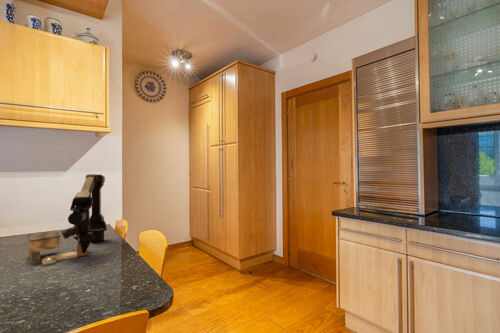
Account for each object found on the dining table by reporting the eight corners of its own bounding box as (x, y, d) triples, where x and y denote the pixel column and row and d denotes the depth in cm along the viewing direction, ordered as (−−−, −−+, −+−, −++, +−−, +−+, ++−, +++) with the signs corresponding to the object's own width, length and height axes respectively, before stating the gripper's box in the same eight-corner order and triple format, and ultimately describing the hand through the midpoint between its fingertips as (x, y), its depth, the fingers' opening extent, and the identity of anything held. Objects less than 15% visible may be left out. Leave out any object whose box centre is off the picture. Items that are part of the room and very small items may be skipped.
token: (57, 260, 117) (57, 255, 117) (54, 264, 113) (54, 259, 113) (43, 262, 115) (43, 257, 115) (40, 266, 110) (40, 260, 110)
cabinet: (55, 251, 131) (55, 230, 131) (60, 258, 121) (60, 235, 121) (27, 256, 123) (27, 234, 123) (30, 264, 113) (30, 240, 113)
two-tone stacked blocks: (87, 251, 128) (86, 242, 128) (86, 255, 124) (86, 245, 123) (45, 259, 119) (45, 248, 119) (43, 262, 115) (43, 251, 115)
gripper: (59, 220, 126) (59, 251, 126) (66, 226, 113) (66, 261, 112) (85, 217, 134) (85, 246, 133) (94, 222, 120) (95, 254, 120)
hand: (82, 251), depth 125 cm, fingers closed on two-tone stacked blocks, 4 cm apart
